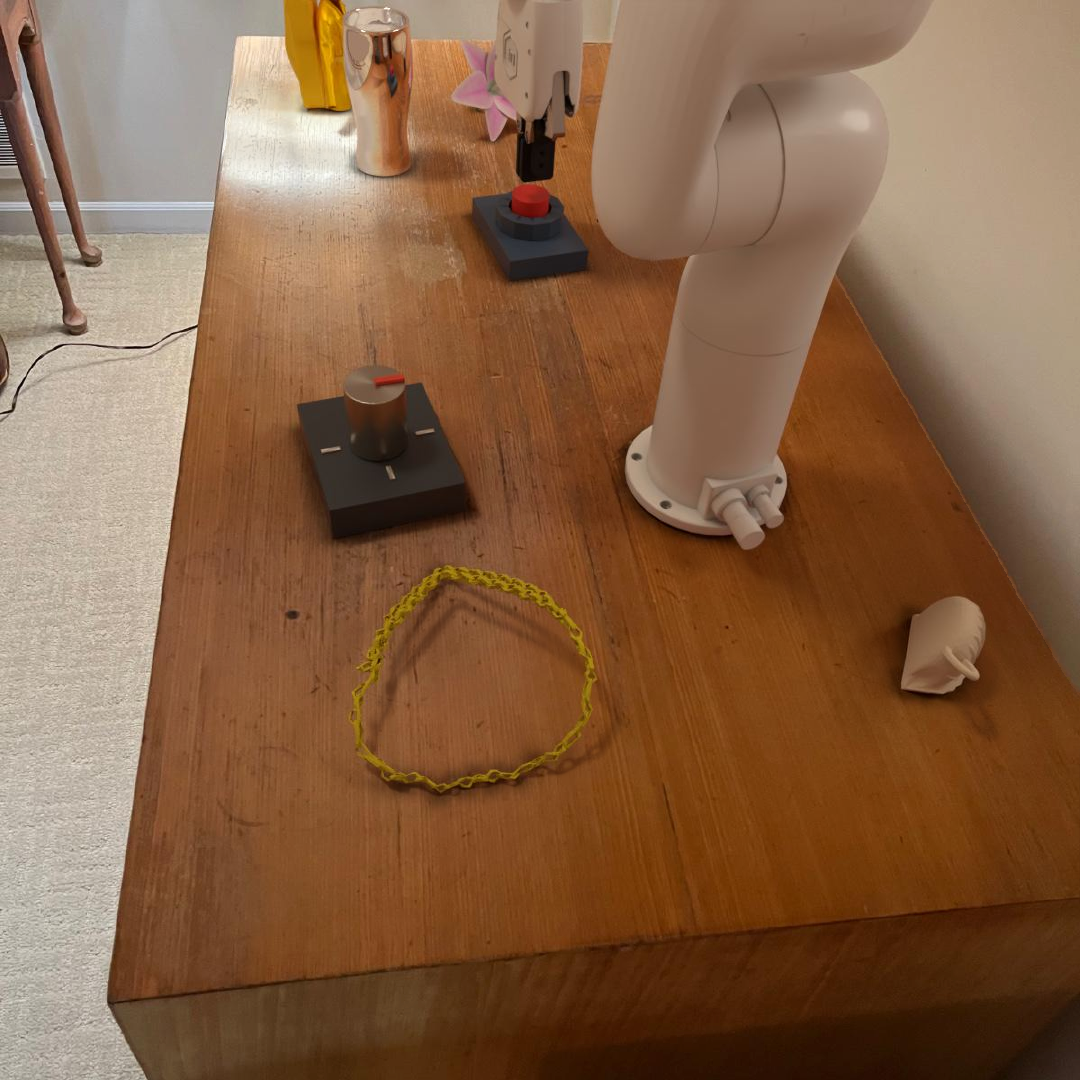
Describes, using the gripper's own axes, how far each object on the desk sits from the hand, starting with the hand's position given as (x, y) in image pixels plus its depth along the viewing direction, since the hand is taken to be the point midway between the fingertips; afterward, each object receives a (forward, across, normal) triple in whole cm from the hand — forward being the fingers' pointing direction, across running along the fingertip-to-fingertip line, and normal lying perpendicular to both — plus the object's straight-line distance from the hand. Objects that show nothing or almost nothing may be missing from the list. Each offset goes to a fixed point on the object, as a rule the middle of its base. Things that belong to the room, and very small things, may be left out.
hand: (534, 176), depth 96 cm
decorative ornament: (+9, +56, +9) cm, 58 cm away
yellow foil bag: (+7, -36, -13) cm, 39 cm away
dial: (+5, +27, -22) cm, 35 cm away
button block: (+7, -1, 0) cm, 7 cm away
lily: (+7, -26, +5) cm, 27 cm away
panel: (+8, +27, -22) cm, 36 cm away
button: (+4, -1, 0) cm, 4 cm away
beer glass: (+7, -20, -10) cm, 23 cm away
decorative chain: (+9, +47, -22) cm, 53 cm away
